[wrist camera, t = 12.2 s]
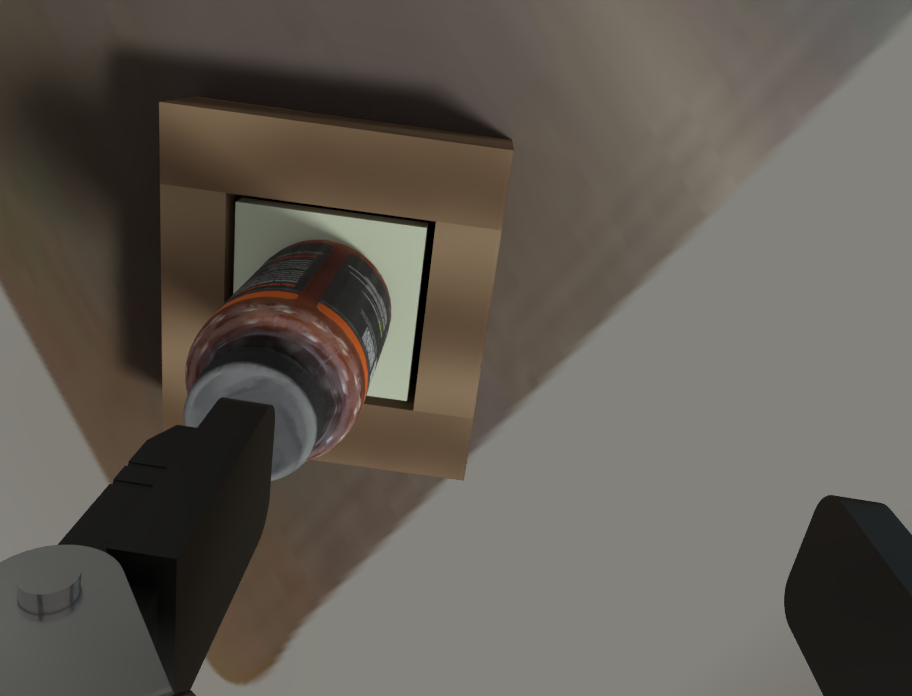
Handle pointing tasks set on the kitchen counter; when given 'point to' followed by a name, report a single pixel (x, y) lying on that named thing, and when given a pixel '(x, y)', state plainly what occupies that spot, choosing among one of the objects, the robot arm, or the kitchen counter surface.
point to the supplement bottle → (295, 347)
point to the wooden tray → (354, 188)
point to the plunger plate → (375, 237)
